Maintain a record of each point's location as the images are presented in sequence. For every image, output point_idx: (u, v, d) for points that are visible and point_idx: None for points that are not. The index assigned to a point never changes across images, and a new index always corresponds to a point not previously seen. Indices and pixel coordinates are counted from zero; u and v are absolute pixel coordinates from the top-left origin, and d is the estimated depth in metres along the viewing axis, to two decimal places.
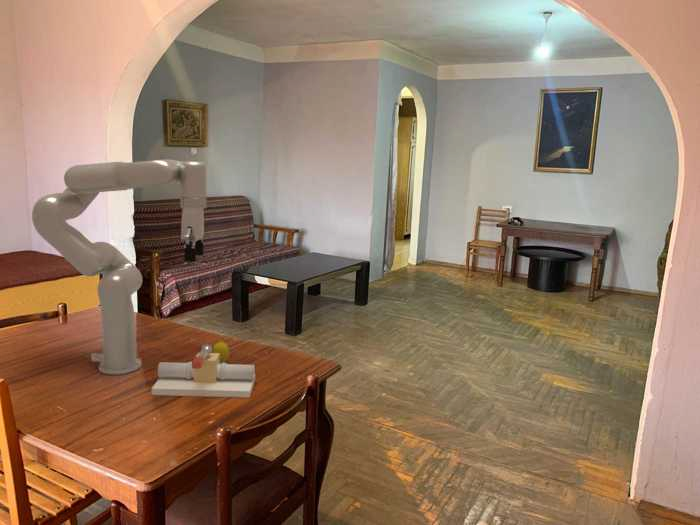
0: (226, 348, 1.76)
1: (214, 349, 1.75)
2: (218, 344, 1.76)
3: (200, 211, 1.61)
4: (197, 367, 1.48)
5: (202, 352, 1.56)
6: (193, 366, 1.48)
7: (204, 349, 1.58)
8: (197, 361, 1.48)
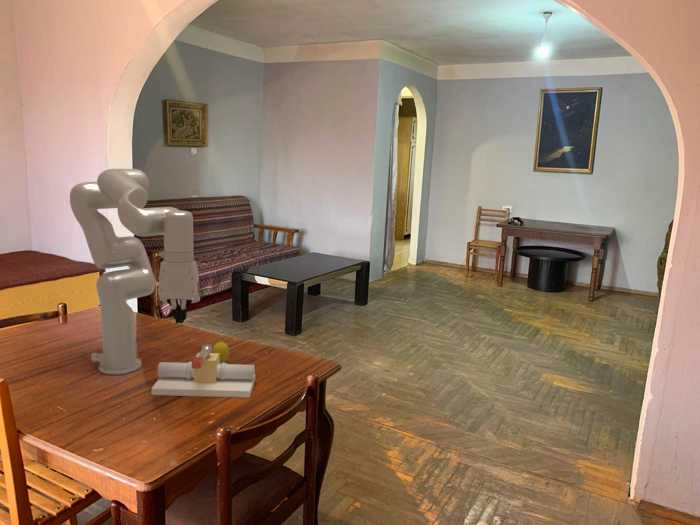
0: (226, 348, 1.76)
1: (214, 349, 1.75)
2: (218, 344, 1.76)
3: None
4: (197, 367, 1.48)
5: (202, 352, 1.56)
6: (193, 366, 1.48)
7: (204, 349, 1.58)
8: (197, 361, 1.48)
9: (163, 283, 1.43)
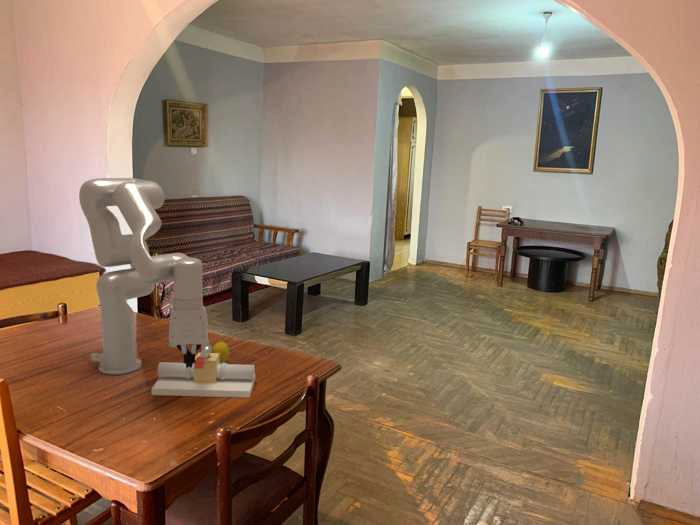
0: (226, 348, 1.76)
1: (214, 349, 1.75)
2: (218, 344, 1.76)
3: None
4: (200, 367, 1.48)
5: (203, 352, 1.56)
6: (196, 366, 1.48)
7: (204, 349, 1.58)
8: (200, 361, 1.48)
9: (174, 329, 1.45)
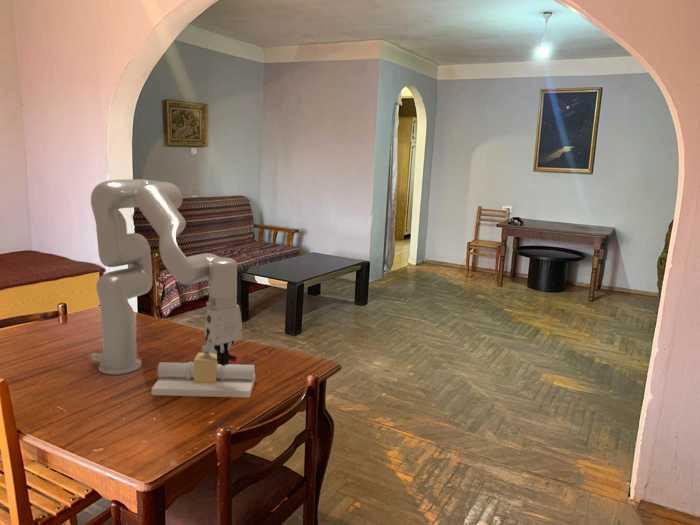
0: None
1: None
2: None
3: None
4: (240, 360, 1.54)
5: None
6: (237, 360, 1.53)
7: None
8: (238, 354, 1.54)
9: (219, 330, 1.47)
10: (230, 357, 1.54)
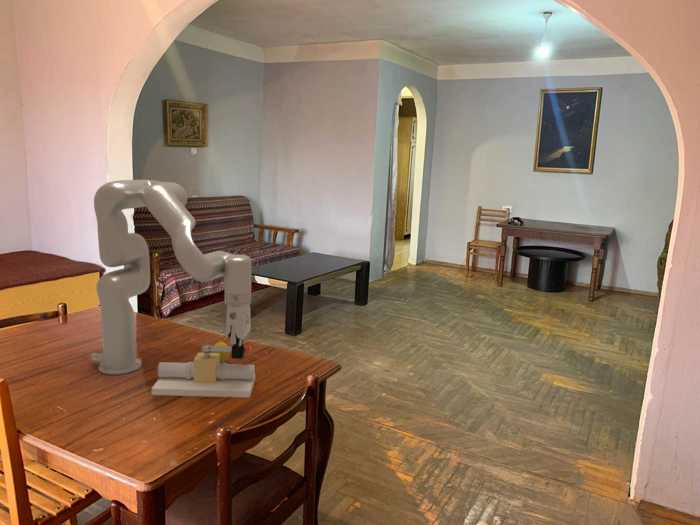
0: None
1: None
2: (218, 344, 1.76)
3: None
4: (250, 350, 1.62)
5: (222, 347, 1.60)
6: (250, 351, 1.61)
7: (214, 347, 1.60)
8: (248, 346, 1.61)
9: (243, 324, 1.52)
10: None
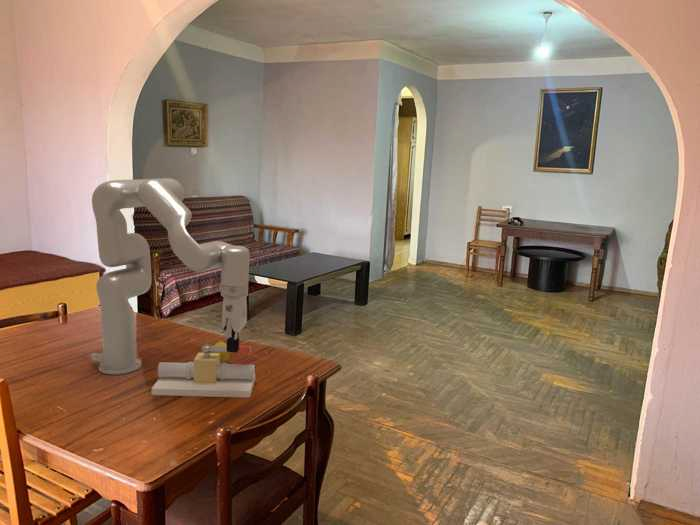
0: None
1: None
2: (218, 344, 1.76)
3: None
4: (250, 350, 1.62)
5: (222, 347, 1.60)
6: (250, 351, 1.61)
7: (214, 347, 1.60)
8: (248, 346, 1.61)
9: (240, 317, 1.48)
10: (242, 350, 1.60)
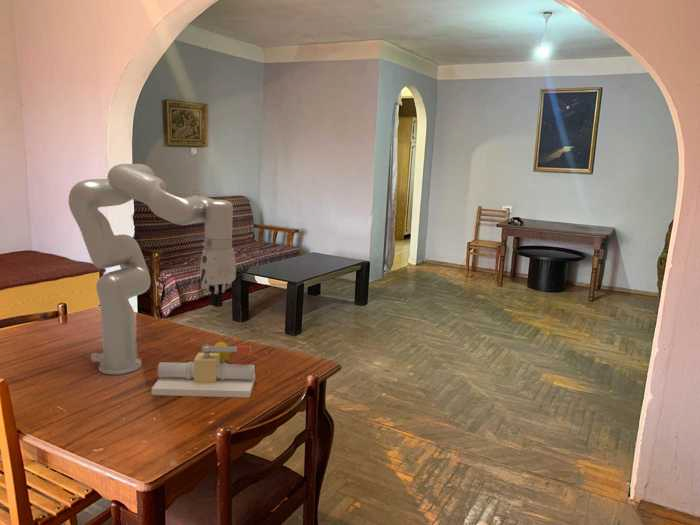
0: None
1: None
2: (218, 344, 1.76)
3: None
4: (250, 350, 1.62)
5: (222, 347, 1.60)
6: (250, 351, 1.61)
7: (214, 347, 1.60)
8: (248, 346, 1.61)
9: (214, 270, 1.49)
10: (242, 350, 1.60)
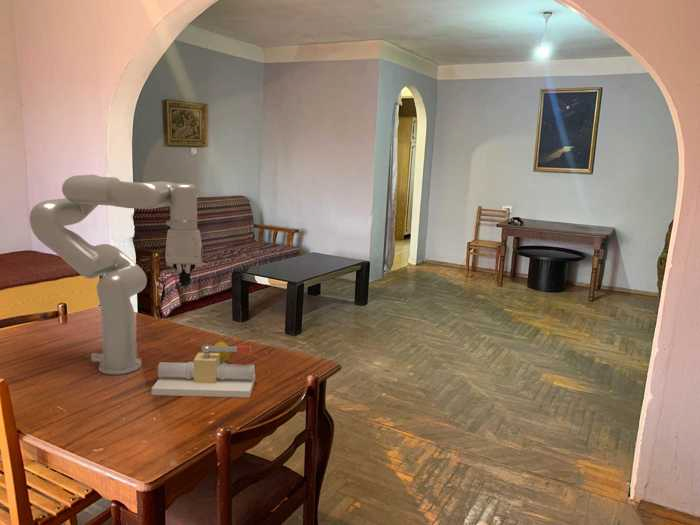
0: None
1: None
2: (218, 344, 1.76)
3: None
4: (250, 350, 1.62)
5: (222, 347, 1.60)
6: (250, 351, 1.61)
7: (214, 347, 1.60)
8: (248, 346, 1.61)
9: (170, 249, 1.58)
10: (242, 350, 1.60)
